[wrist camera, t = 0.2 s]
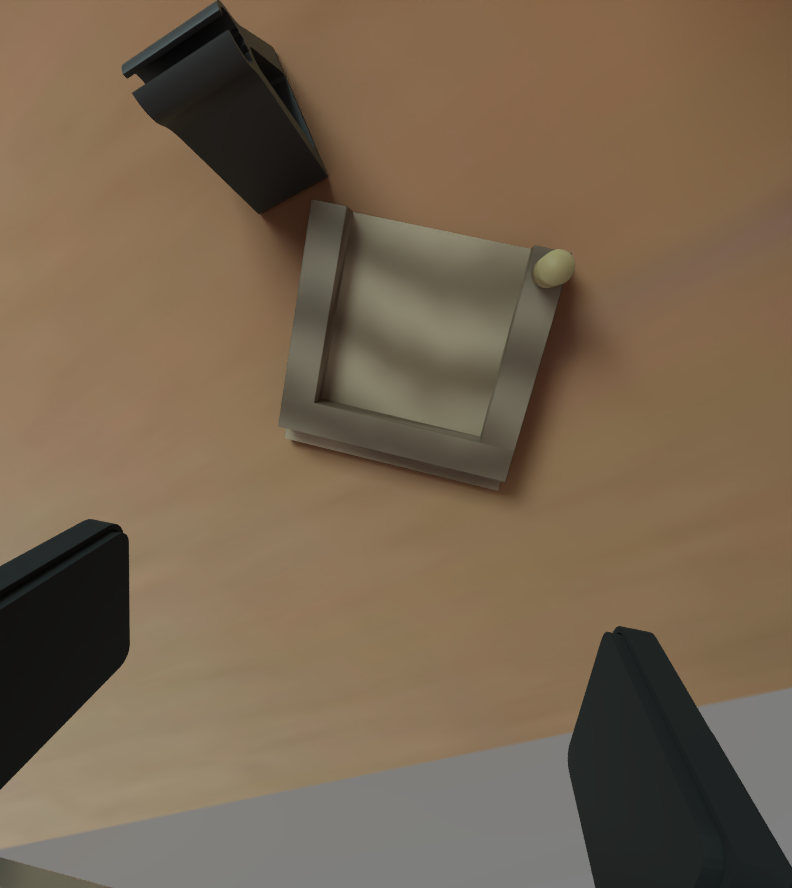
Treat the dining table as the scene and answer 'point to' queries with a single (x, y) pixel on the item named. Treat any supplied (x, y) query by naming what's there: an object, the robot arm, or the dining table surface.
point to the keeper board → (417, 343)
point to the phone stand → (229, 106)
